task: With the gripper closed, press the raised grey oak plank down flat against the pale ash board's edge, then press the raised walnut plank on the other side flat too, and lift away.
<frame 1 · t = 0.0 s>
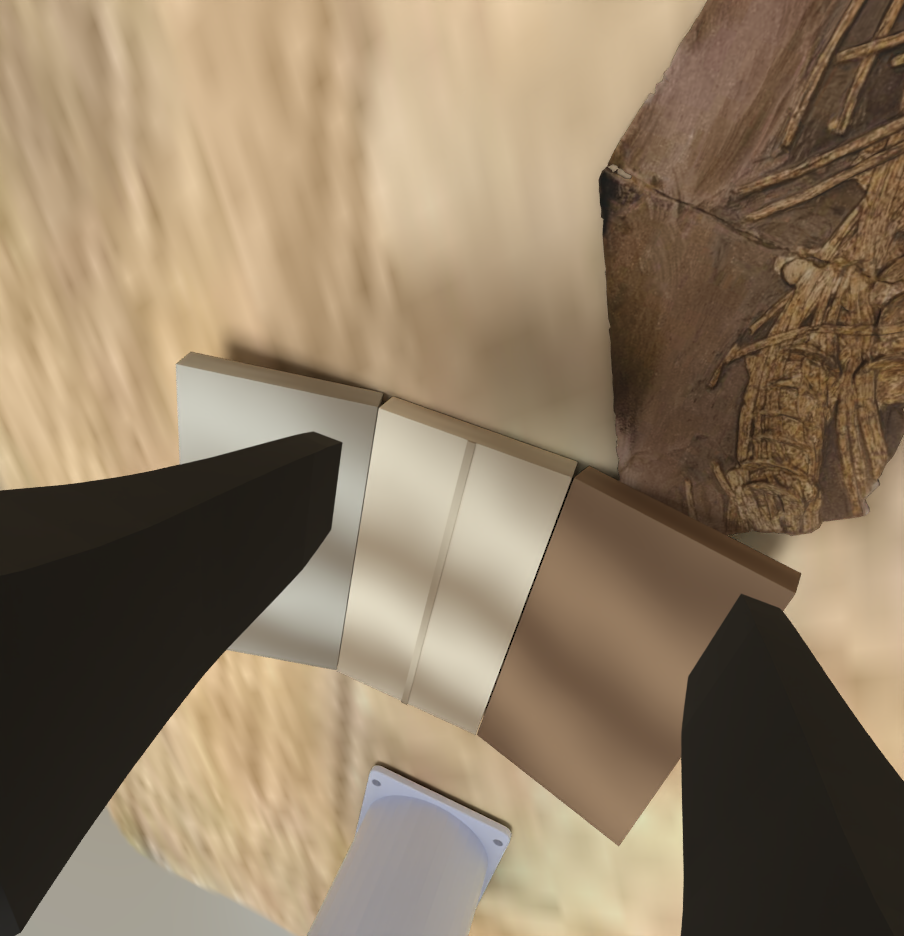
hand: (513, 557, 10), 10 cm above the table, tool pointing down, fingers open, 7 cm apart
walnut plank: (605, 671, 22), point 2 cm above the table, hinge at 16.2°
ash board: (443, 574, 25), on the table
fossil skeleton slab: (861, 122, 14), on the table
grey oak plank: (273, 532, 25), point 2 cm above the table, hinge at 16.5°
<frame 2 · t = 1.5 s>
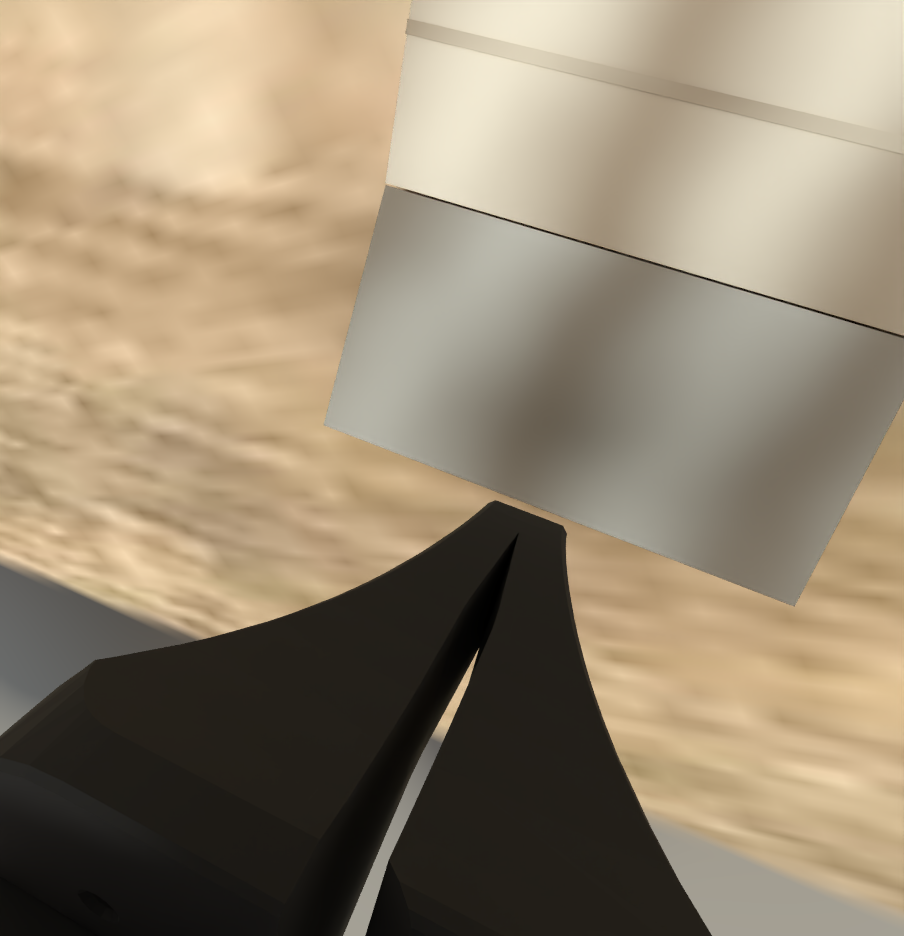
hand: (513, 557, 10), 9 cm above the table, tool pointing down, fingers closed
ash board: (695, 99, 14), on the table
grey oak plank: (586, 389, 16), point 2 cm above the table, hinge at 16.4°
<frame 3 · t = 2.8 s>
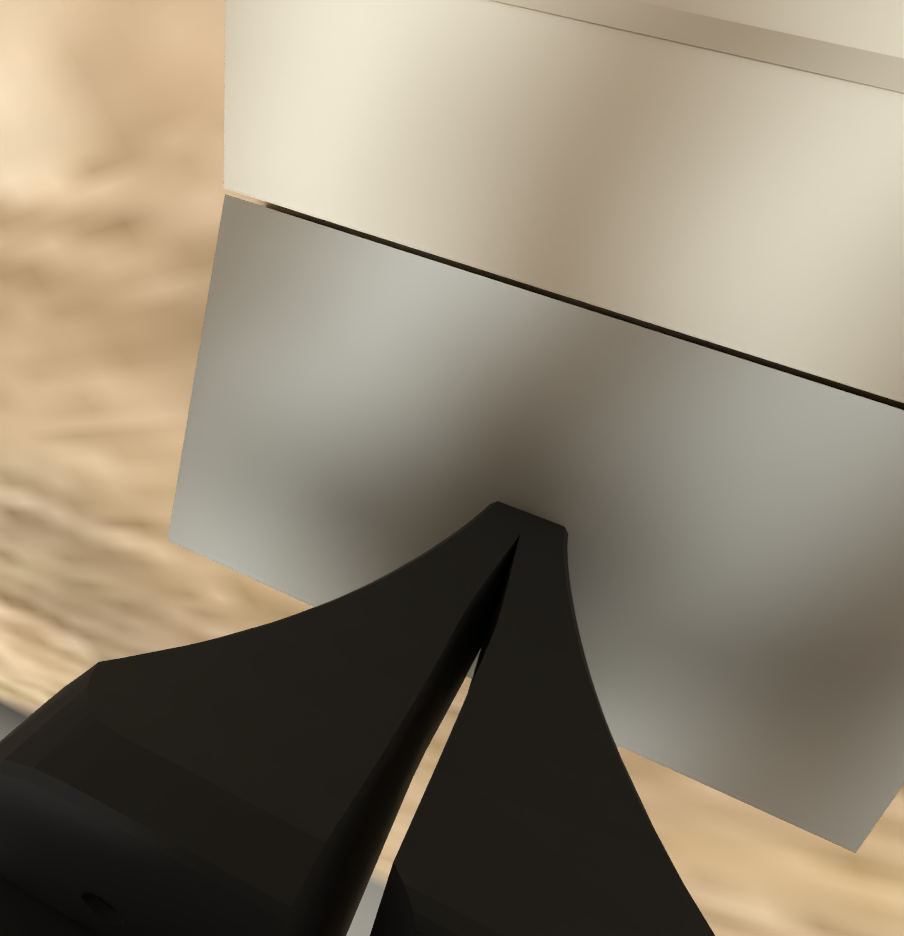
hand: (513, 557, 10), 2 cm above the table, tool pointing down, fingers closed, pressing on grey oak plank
ash board: (709, 48, 8), on the table
grey oak plank: (537, 506, 11), point 1 cm above the table, hinge at 14.3°, touching gripper
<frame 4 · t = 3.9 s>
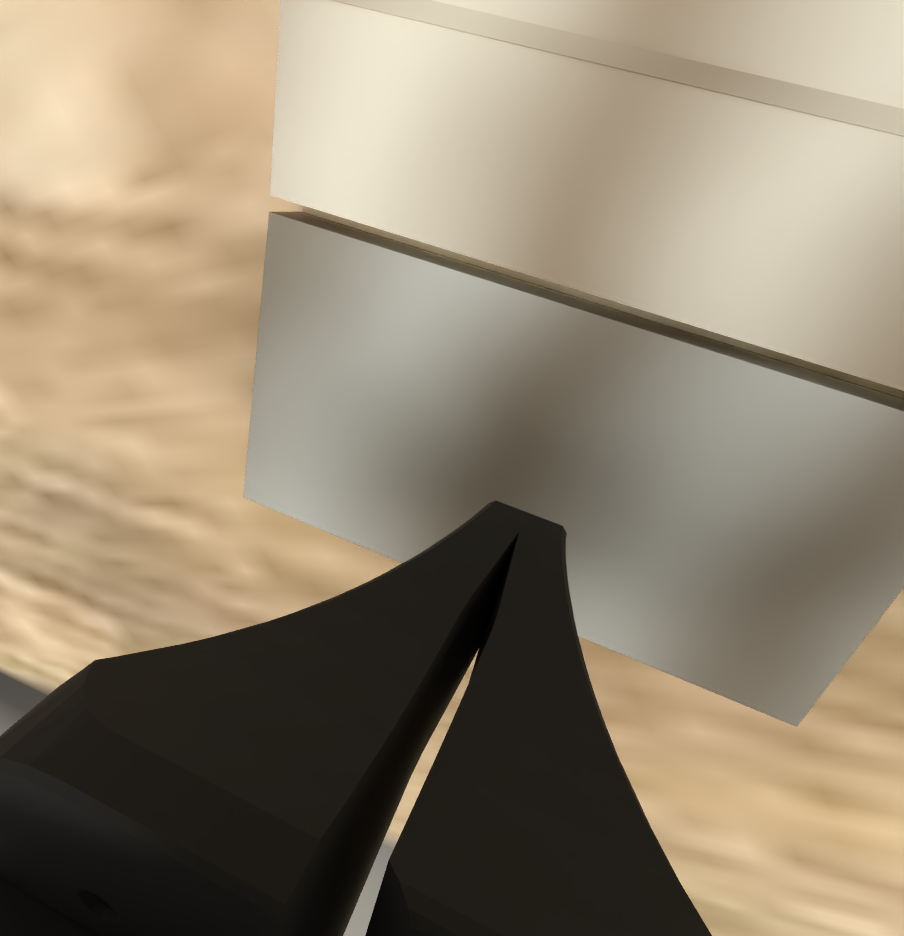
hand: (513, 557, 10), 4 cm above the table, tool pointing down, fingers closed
ash board: (685, 80, 10), on the table
grey oak plank: (545, 466, 13), point 1 cm above the table, hinge at 3.9°
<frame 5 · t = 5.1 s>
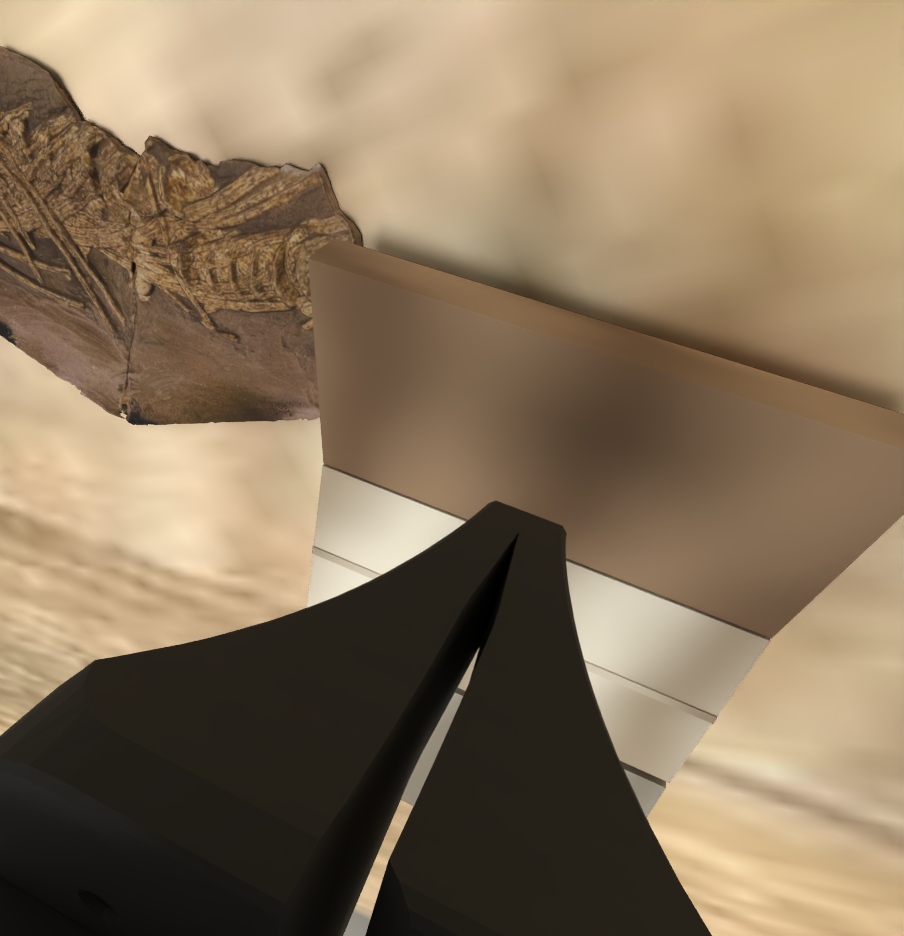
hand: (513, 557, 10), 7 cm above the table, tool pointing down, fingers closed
walnut plank: (564, 449, 15), point 2 cm above the table, hinge at 16.1°
ash board: (509, 605, 20), on the table
fossil skeleton slab: (80, 251, 21), on the table
grey oak plank: (456, 750, 24), point 1 cm above the table, hinge at 3.9°
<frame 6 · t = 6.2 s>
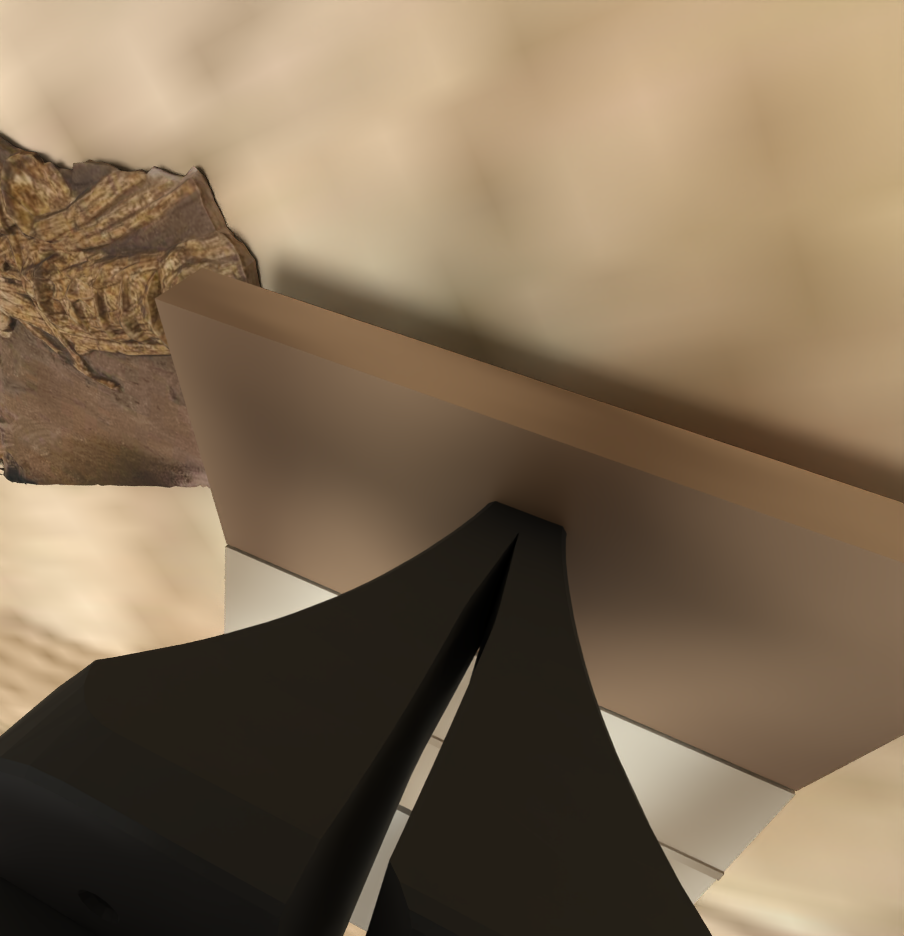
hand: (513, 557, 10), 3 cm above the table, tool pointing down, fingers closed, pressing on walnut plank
walnut plank: (521, 548, 12), point 2 cm above the table, hinge at 16.1°, touching gripper
ash board: (466, 711, 16), on the table
grey oak plank: (409, 869, 20), point 1 cm above the table, hinge at 3.9°
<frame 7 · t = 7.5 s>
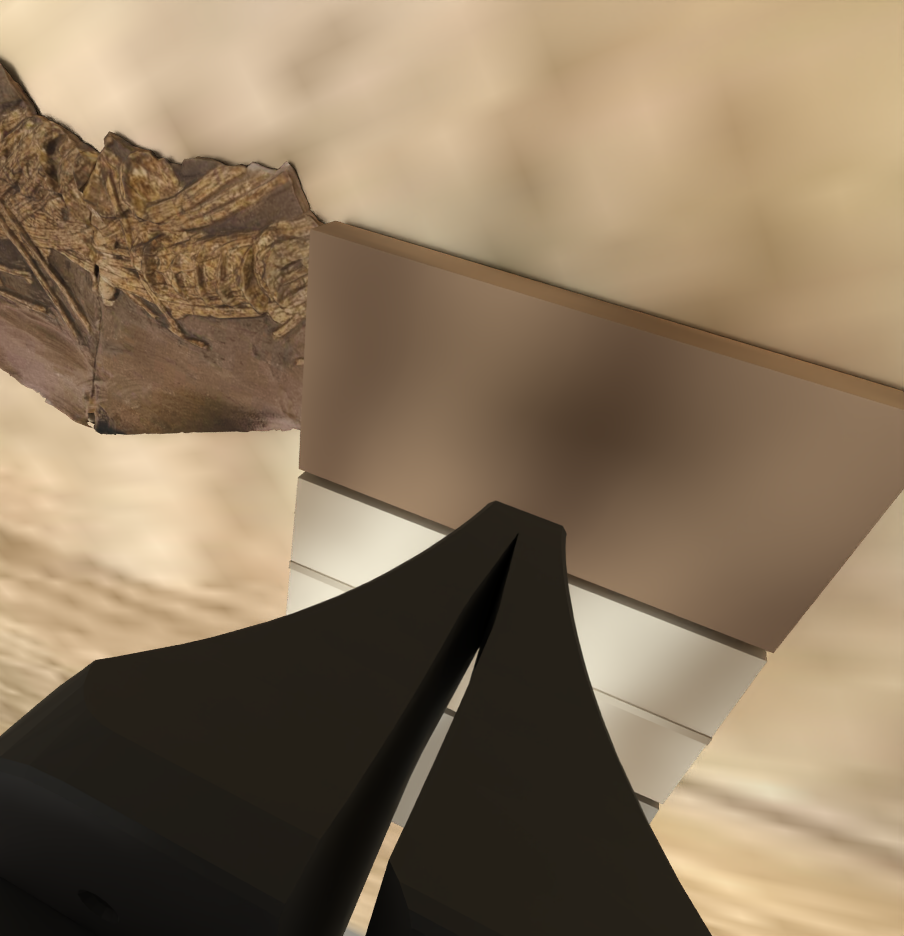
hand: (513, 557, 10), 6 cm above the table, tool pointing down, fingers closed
walnut plank: (558, 440, 15), point 1 cm above the table, hinge at 3.5°
ash board: (496, 620, 20), on the table
fossil skeleton slab: (41, 253, 20), on the table
grey oak plank: (443, 768, 23), point 1 cm above the table, hinge at 3.9°
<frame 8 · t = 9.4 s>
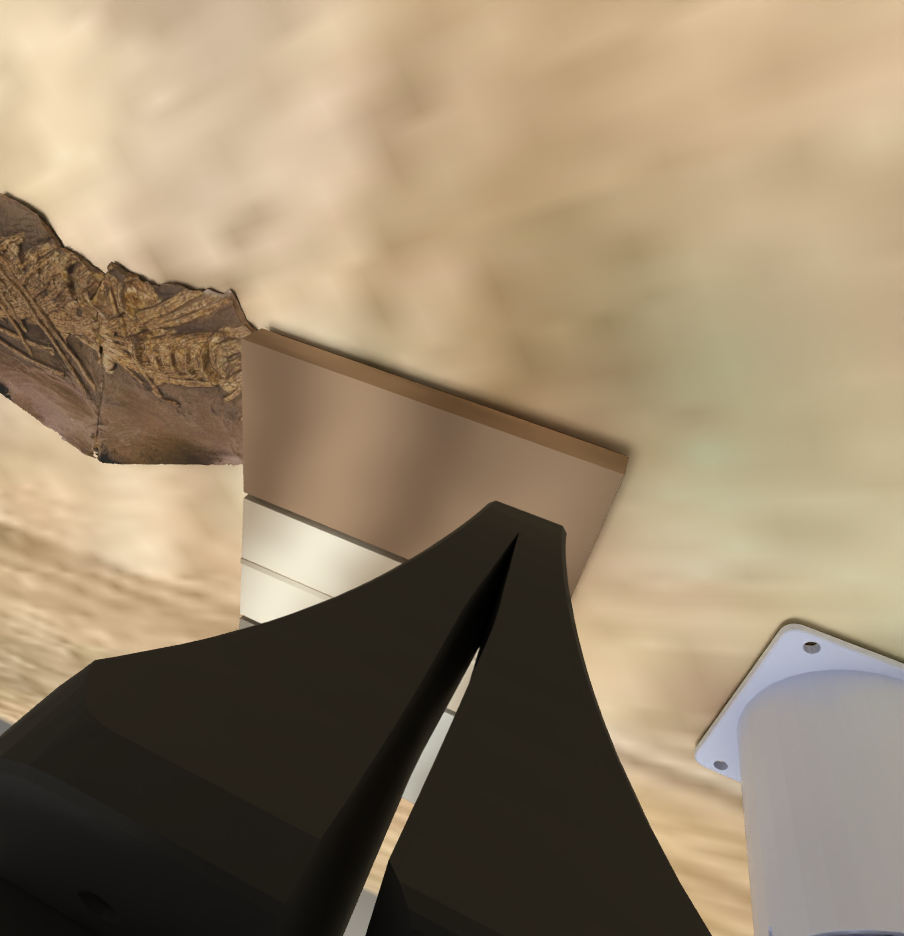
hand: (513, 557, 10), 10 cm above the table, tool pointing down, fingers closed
walnut plank: (412, 476, 22), point 1 cm above the table, hinge at 3.5°
ash board: (391, 602, 27), on the table
fossil skeleton slab: (61, 332, 27), on the table
grey oak plank: (361, 716, 30), point 1 cm above the table, hinge at 3.9°
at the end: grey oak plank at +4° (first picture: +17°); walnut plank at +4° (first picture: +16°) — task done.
